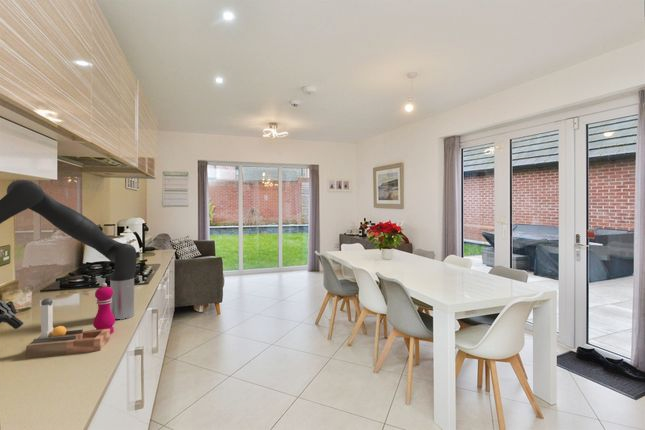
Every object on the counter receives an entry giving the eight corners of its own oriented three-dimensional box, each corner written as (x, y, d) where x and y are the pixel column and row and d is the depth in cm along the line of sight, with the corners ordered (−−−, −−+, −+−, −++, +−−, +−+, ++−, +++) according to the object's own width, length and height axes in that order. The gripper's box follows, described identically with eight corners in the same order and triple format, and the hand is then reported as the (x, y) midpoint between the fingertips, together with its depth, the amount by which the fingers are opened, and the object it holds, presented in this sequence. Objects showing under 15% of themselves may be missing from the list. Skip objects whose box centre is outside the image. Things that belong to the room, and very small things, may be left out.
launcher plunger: (45, 336, 113) (44, 297, 113) (55, 335, 114) (55, 296, 114) (38, 341, 109) (38, 300, 109) (49, 340, 110) (48, 299, 110)
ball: (55, 336, 114) (55, 324, 114) (68, 334, 115) (68, 323, 115) (49, 340, 110) (49, 329, 110) (63, 339, 112) (63, 327, 111)
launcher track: (42, 345, 116) (42, 331, 116) (110, 339, 122) (110, 325, 122) (26, 357, 106) (26, 342, 106) (100, 350, 112) (100, 335, 112)
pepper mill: (91, 333, 127) (91, 282, 127) (112, 328, 132) (112, 280, 132) (95, 338, 122) (94, 286, 122) (117, 333, 127) (117, 283, 127)
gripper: (-31, 288, 100) (17, 324, 104) (-3, 279, 113) (40, 312, 117) (-53, 307, 99) (-3, 342, 102) (-22, 296, 111) (22, 328, 115)
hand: (20, 326), depth 109 cm, fingers closed
